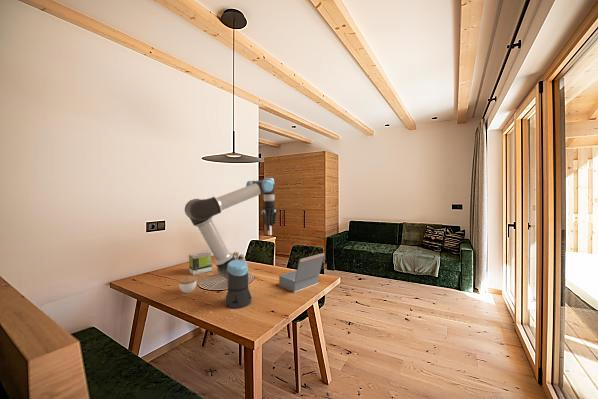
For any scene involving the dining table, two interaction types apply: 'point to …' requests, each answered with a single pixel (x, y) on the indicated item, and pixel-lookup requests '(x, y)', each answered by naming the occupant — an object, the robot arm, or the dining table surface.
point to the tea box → (200, 262)
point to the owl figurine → (241, 257)
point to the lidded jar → (187, 284)
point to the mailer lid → (309, 267)
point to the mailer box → (290, 284)
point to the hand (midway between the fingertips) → (269, 234)
